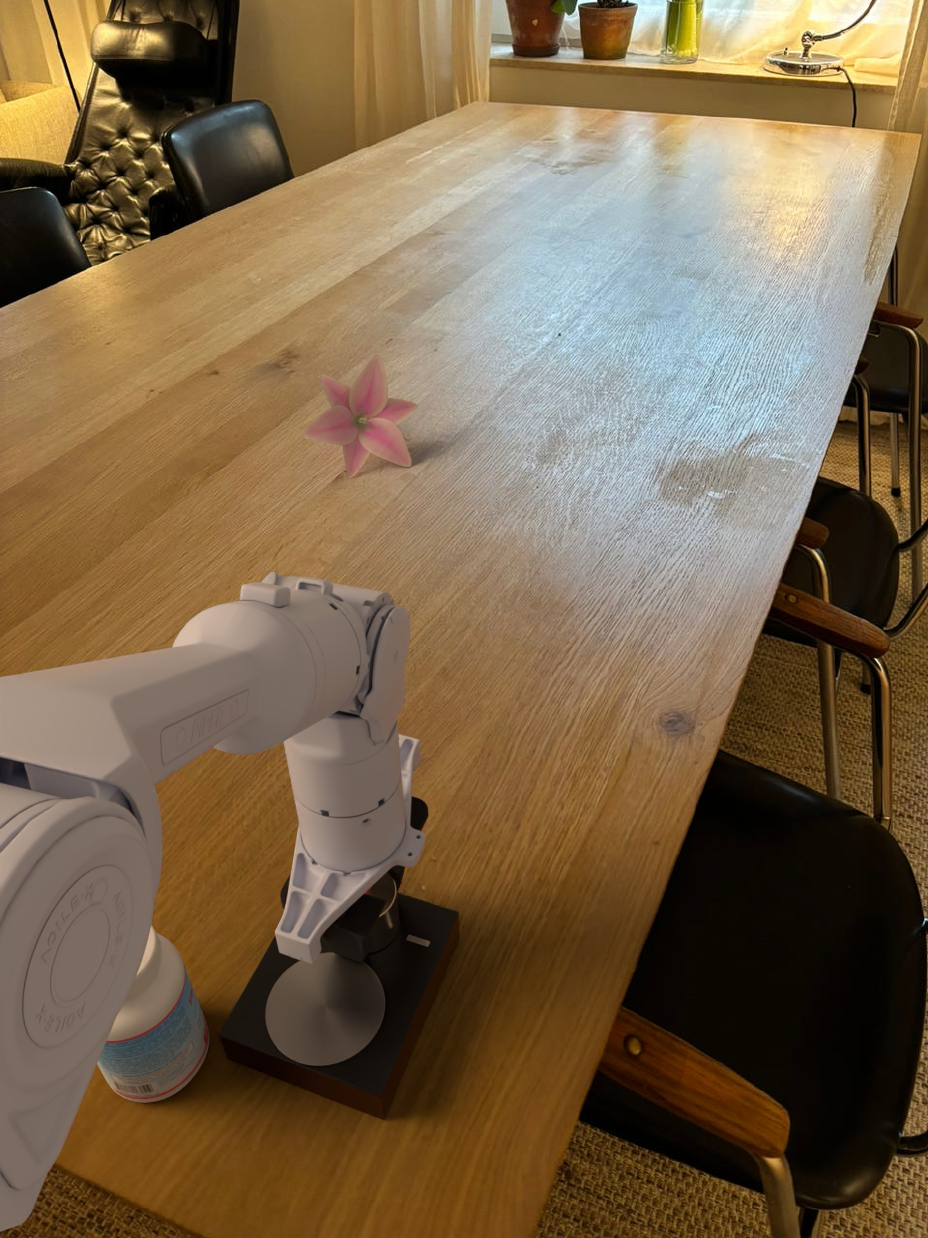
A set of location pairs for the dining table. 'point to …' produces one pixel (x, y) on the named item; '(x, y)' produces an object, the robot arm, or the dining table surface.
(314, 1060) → the burner
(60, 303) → the dining table surface
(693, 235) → the dining table surface
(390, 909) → the stove knob
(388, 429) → the lily
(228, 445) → the dining table surface
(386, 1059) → the stove
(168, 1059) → the pill bottle
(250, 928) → the dining table surface
